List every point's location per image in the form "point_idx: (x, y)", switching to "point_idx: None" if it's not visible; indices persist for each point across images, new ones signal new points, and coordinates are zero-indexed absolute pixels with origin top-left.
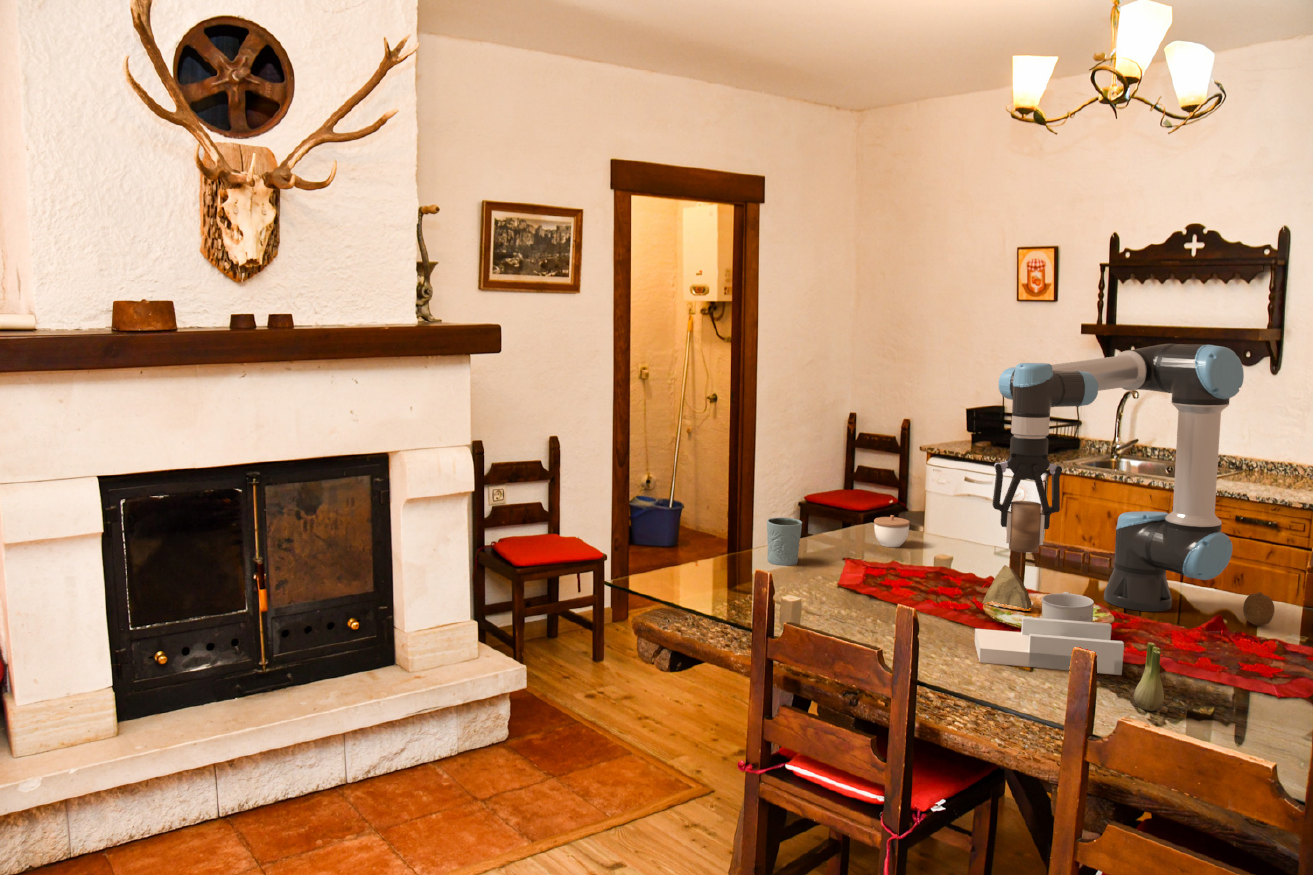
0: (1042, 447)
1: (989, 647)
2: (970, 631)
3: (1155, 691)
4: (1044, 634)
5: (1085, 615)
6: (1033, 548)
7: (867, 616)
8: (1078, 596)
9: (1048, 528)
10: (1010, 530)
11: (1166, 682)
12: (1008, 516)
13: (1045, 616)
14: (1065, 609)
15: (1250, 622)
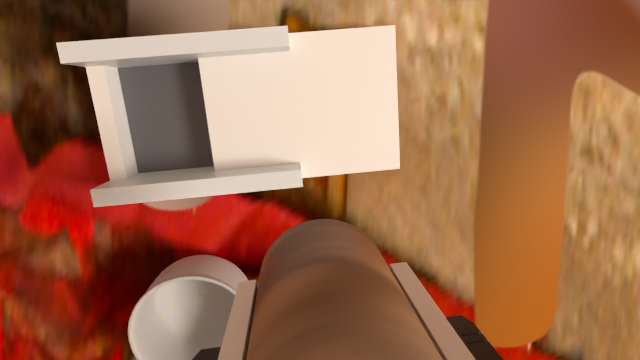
0: None
1: (374, 38)
2: (396, 227)
3: None
4: (252, 168)
5: (155, 281)
6: (283, 240)
7: (593, 247)
8: None
9: (198, 352)
10: (410, 296)
11: (7, 38)
12: (461, 349)
13: None
14: (199, 274)
15: None
